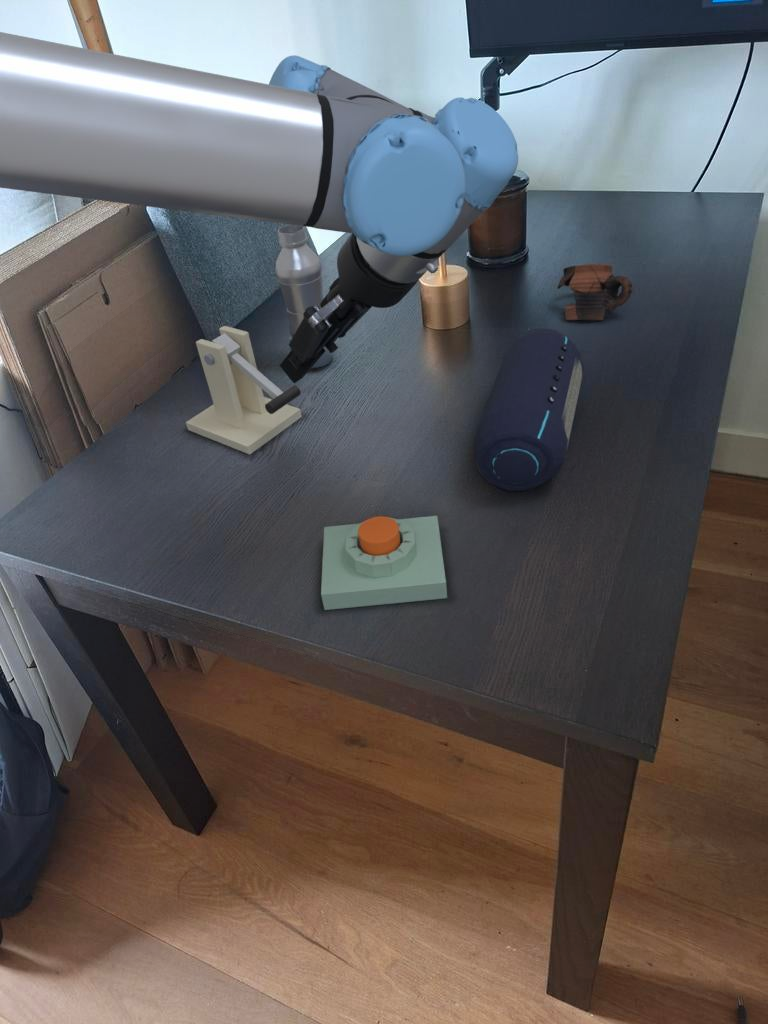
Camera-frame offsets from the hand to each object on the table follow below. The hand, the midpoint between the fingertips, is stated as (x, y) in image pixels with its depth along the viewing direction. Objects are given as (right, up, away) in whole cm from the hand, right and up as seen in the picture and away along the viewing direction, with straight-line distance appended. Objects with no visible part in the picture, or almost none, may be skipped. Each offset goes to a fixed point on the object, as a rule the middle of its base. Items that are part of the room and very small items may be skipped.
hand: (291, 371), depth 89 cm
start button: (+11, -20, -14) cm, 26 cm away
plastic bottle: (+1, +6, +24) cm, 25 cm away
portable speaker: (+29, -8, +3) cm, 30 cm away
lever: (-6, 0, +6) cm, 8 cm away
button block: (+11, -22, -12) cm, 28 cm away
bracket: (-8, -5, +13) cm, 16 cm away
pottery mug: (+43, +14, +28) cm, 53 cm away
